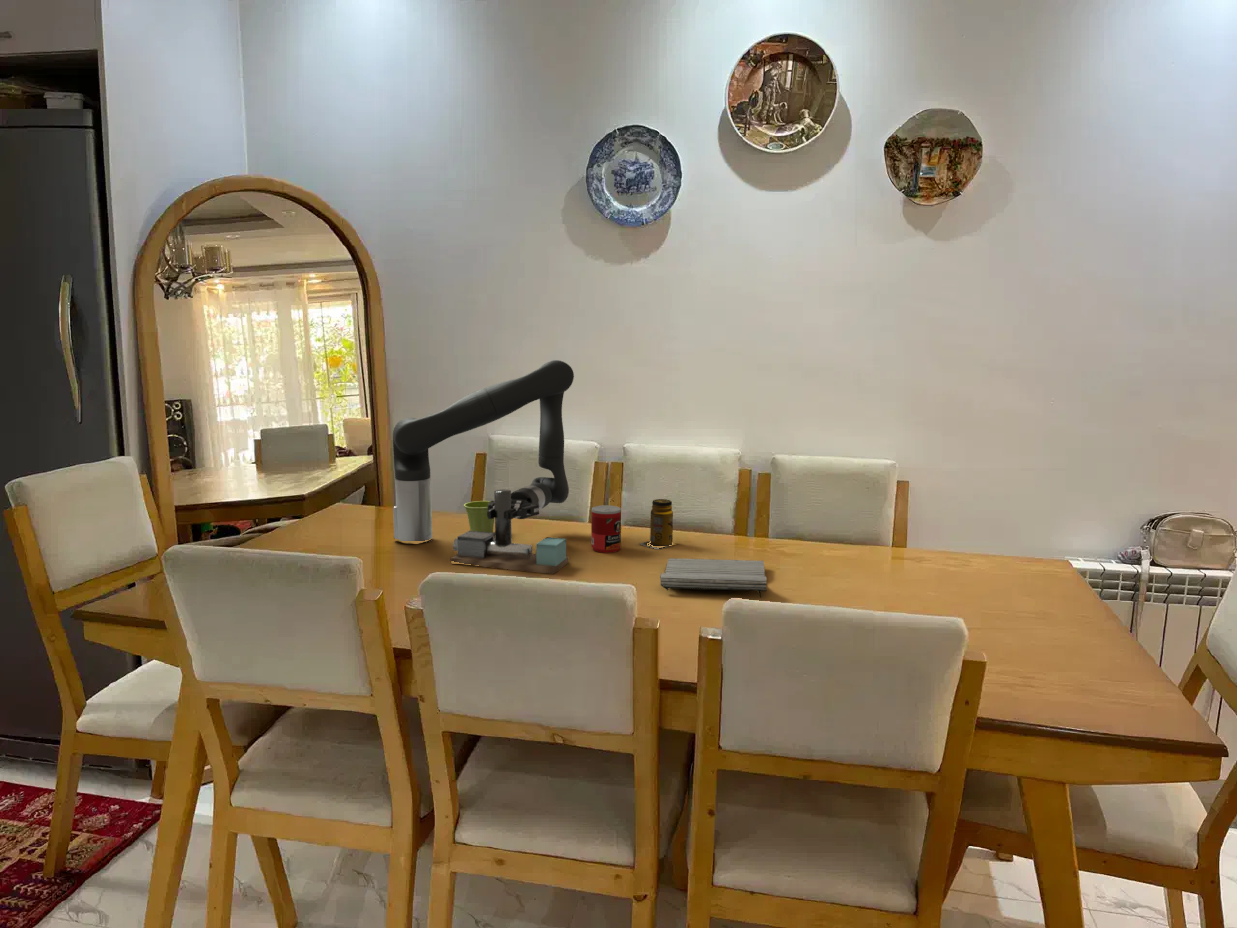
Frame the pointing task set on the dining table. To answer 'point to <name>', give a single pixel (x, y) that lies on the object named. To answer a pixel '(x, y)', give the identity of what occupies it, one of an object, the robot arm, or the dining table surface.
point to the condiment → (661, 524)
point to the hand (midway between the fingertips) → (498, 515)
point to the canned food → (606, 528)
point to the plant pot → (479, 516)
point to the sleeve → (473, 544)
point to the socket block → (551, 551)
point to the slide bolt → (503, 531)
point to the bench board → (511, 563)
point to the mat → (714, 574)
